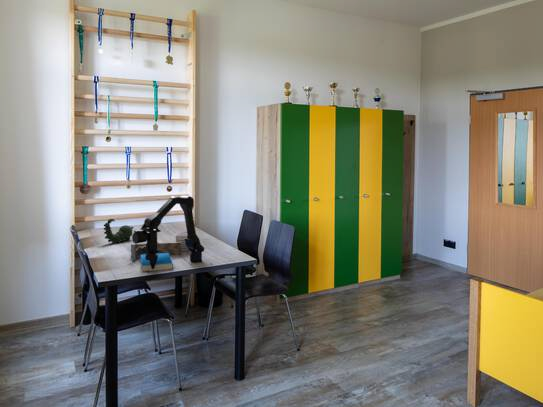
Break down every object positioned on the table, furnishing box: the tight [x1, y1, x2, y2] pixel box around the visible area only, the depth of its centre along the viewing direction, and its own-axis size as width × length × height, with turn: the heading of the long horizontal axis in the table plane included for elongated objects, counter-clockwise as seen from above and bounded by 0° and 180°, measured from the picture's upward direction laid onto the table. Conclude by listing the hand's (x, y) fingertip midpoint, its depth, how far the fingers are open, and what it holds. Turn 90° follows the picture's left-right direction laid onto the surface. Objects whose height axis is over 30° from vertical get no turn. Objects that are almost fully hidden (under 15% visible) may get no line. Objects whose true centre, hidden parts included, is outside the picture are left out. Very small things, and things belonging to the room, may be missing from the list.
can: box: [174, 231, 191, 254], centre depth 297 cm, size 11×11×12 cm
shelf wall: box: [130, 241, 182, 258], centre depth 285 cm, size 30×2×8 cm, turn 101°
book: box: [140, 253, 174, 272], centre depth 265 cm, size 17×4×25 cm
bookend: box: [131, 241, 138, 262], centre depth 276 cm, size 2×10×10 cm, turn 11°
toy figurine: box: [103, 218, 135, 244], centre depth 327 cm, size 9×19×25 cm
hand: (152, 269), depth 251 cm, fingers closed
